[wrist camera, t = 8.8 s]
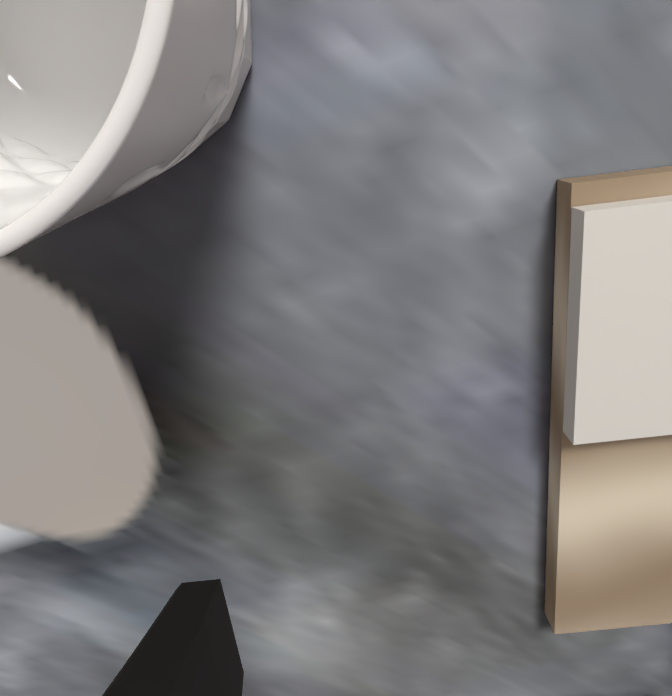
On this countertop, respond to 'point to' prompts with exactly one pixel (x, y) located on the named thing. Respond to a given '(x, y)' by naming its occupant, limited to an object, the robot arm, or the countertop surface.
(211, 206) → the countertop surface
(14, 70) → the white cup
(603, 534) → the base
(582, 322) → the white strip
